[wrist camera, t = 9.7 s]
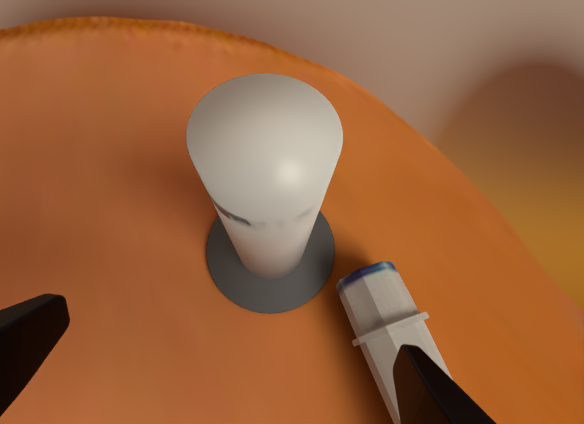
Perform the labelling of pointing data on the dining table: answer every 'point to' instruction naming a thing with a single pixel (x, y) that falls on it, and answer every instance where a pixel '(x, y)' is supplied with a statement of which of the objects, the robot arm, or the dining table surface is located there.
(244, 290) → the pad
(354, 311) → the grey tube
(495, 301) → the dining table surface
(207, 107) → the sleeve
